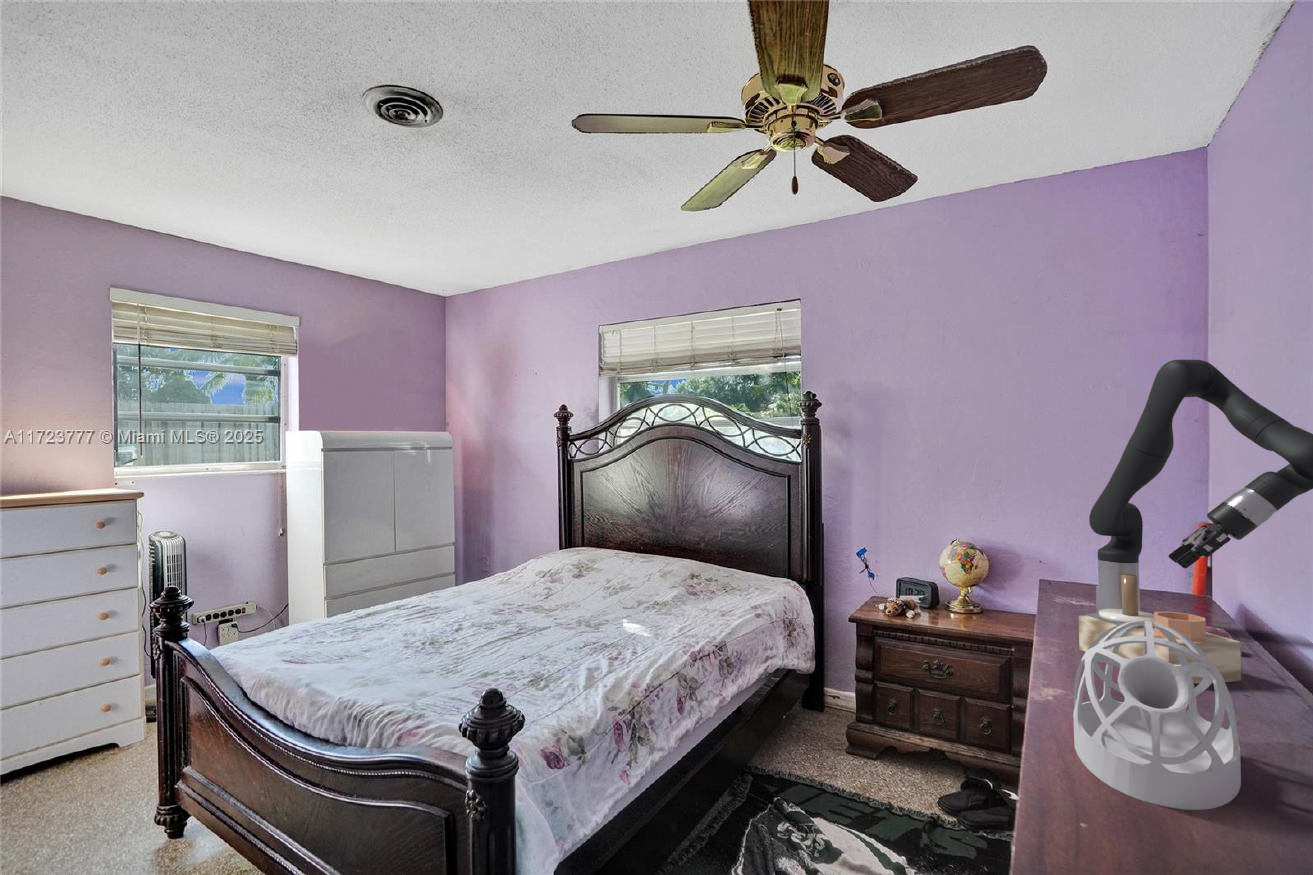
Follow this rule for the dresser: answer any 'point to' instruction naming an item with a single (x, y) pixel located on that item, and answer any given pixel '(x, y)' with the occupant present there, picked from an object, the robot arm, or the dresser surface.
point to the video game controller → (1220, 633)
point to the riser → (1215, 647)
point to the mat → (1096, 615)
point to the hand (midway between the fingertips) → (1176, 562)
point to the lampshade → (1156, 723)
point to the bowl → (1182, 624)
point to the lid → (1127, 604)
